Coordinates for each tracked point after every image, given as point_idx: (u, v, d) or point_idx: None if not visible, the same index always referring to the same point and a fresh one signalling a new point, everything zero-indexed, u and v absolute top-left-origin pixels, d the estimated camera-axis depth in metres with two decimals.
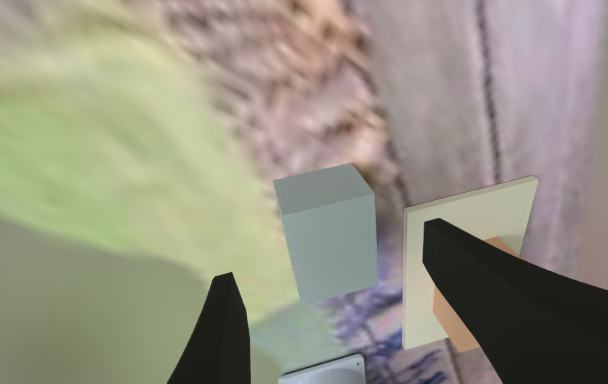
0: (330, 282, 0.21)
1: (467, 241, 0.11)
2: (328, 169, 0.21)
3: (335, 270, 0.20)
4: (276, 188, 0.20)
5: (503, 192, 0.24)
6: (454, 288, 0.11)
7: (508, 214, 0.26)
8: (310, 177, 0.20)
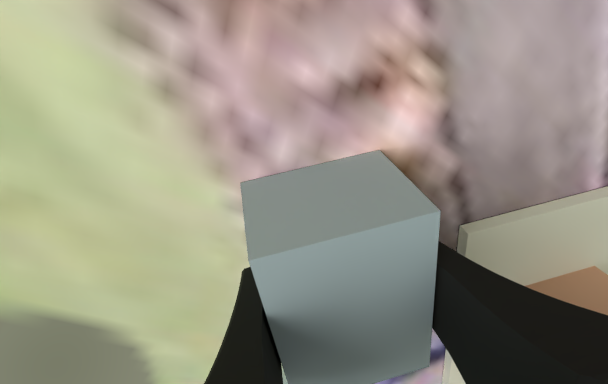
0: (346, 368, 0.11)
1: None
2: (340, 163, 0.12)
3: (356, 349, 0.11)
4: (245, 200, 0.11)
5: None
6: None
7: None
8: (308, 179, 0.11)
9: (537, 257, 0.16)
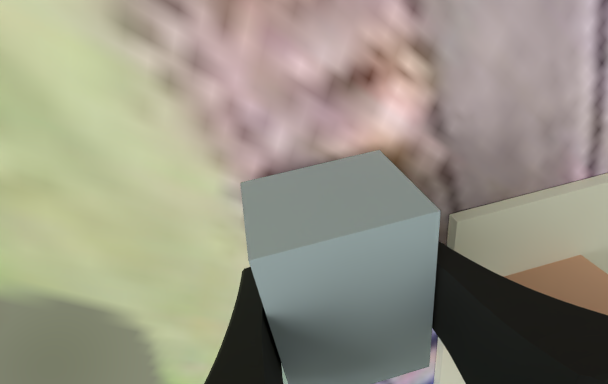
0: (346, 368, 0.11)
1: None
2: (340, 163, 0.12)
3: (356, 349, 0.11)
4: (245, 200, 0.11)
5: (601, 189, 0.16)
6: None
7: (602, 222, 0.17)
8: (308, 179, 0.11)
9: (525, 246, 0.17)
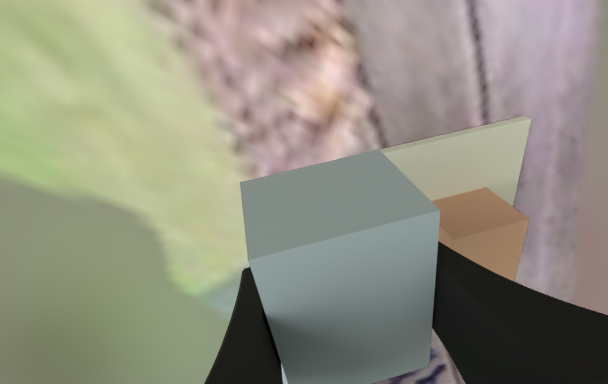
0: (346, 368, 0.11)
1: None
2: (340, 163, 0.12)
3: (356, 349, 0.11)
4: (245, 199, 0.11)
5: (492, 132, 0.22)
6: None
7: (498, 160, 0.23)
8: (307, 179, 0.11)
9: (439, 177, 0.23)
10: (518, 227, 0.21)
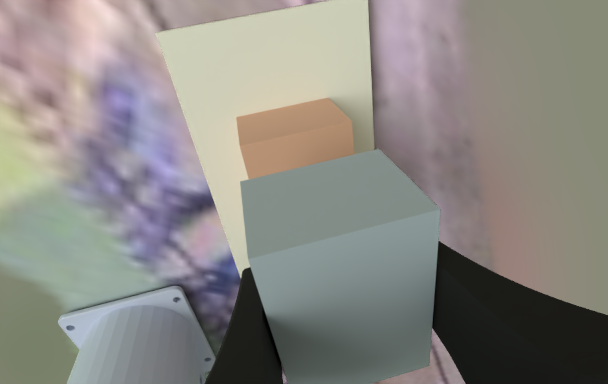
0: (346, 367, 0.11)
1: None
2: (340, 162, 0.12)
3: (356, 348, 0.11)
4: (244, 198, 0.11)
5: (313, 12, 0.16)
6: None
7: (334, 57, 0.17)
8: (307, 178, 0.11)
9: (253, 77, 0.17)
10: (337, 133, 0.15)
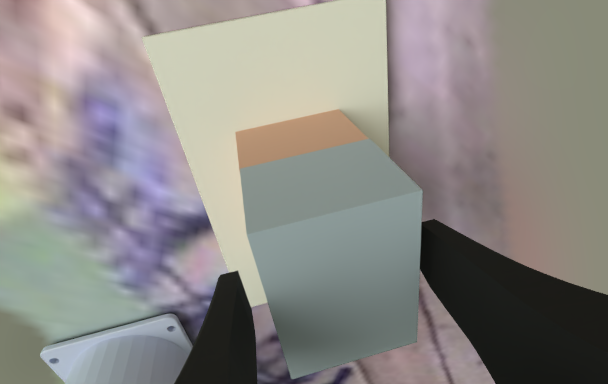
0: (338, 342, 0.12)
1: (461, 243, 0.11)
2: (333, 150, 0.13)
3: (347, 323, 0.12)
4: (244, 183, 0.11)
5: (323, 13, 0.14)
6: (448, 289, 0.11)
7: (346, 64, 0.15)
8: (302, 165, 0.12)
9: (255, 87, 0.15)
10: None
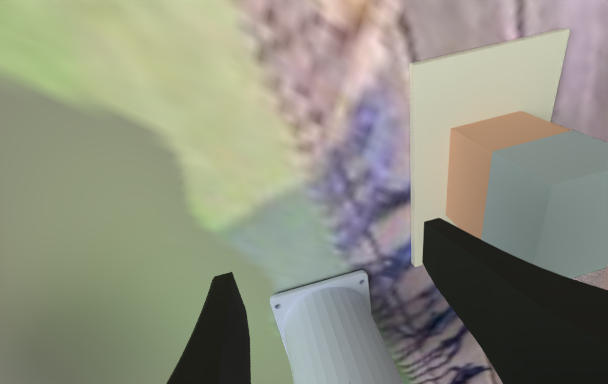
0: (563, 264, 0.18)
1: (467, 241, 0.11)
2: (554, 138, 0.19)
3: (574, 250, 0.18)
4: (509, 159, 0.18)
5: (528, 44, 0.20)
6: (454, 288, 0.11)
7: (533, 79, 0.22)
8: (541, 147, 0.18)
9: (472, 96, 0.21)
10: None
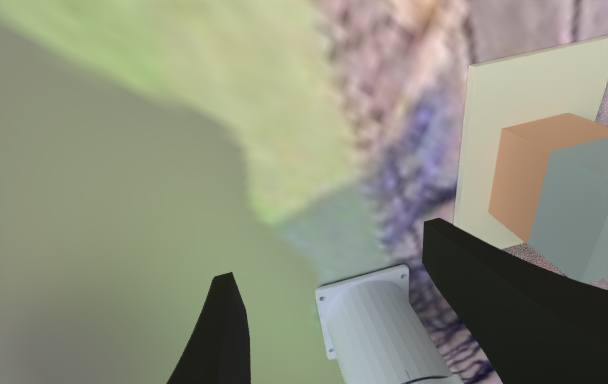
0: None
1: (467, 241, 0.11)
2: None
3: None
4: (570, 159, 0.19)
5: (582, 49, 0.21)
6: (454, 288, 0.11)
7: (583, 82, 0.23)
8: (598, 148, 0.19)
9: (525, 98, 0.22)
10: None
